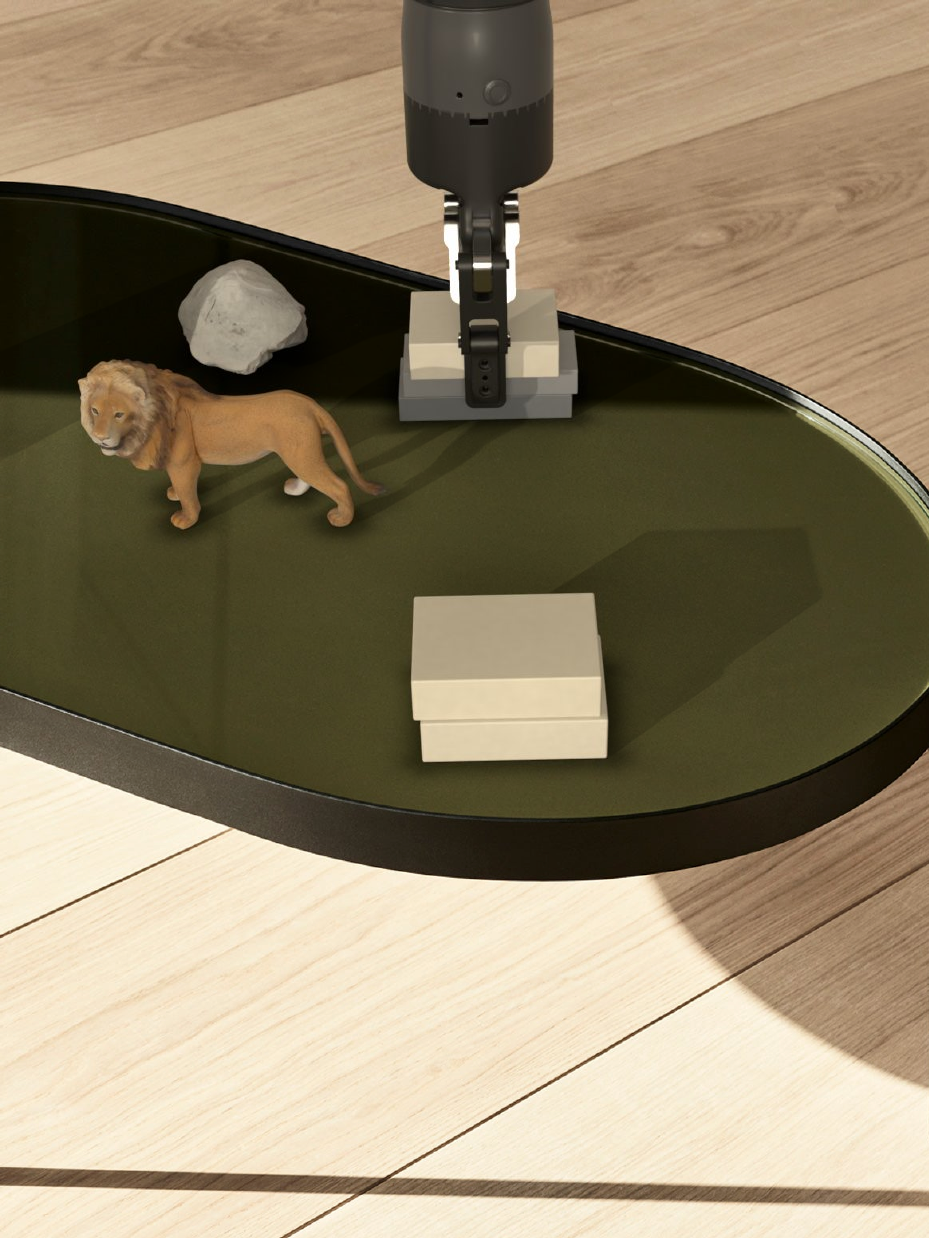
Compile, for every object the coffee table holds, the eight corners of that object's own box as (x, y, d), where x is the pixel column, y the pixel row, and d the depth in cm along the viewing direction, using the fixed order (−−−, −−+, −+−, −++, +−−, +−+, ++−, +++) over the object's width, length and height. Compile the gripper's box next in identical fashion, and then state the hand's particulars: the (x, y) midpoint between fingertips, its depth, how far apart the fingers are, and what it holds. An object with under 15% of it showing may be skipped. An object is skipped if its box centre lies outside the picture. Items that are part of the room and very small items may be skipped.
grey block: (399, 421, 101) (397, 373, 100) (401, 380, 105) (399, 333, 103) (577, 418, 101) (577, 370, 100) (573, 376, 105) (574, 329, 103)
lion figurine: (98, 551, 92) (68, 395, 86) (102, 493, 96) (74, 340, 91) (390, 526, 94) (380, 370, 88) (382, 469, 98) (372, 317, 92)
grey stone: (343, 335, 109) (337, 257, 106) (273, 398, 103) (264, 319, 100) (220, 307, 112) (210, 230, 109) (145, 367, 106) (133, 289, 103)
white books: (415, 763, 80) (410, 684, 77) (418, 672, 84) (414, 595, 82) (607, 758, 80) (609, 680, 77) (599, 668, 84) (600, 591, 82)
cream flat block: (410, 380, 99) (408, 344, 98) (412, 326, 104) (411, 291, 102) (559, 377, 99) (559, 341, 98) (554, 323, 104) (555, 288, 102)
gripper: (406, 27, 97) (420, 314, 108) (398, 137, 86) (415, 445, 97) (548, 24, 97) (548, 311, 108) (559, 134, 86) (558, 441, 97)
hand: (485, 373), depth 102 cm, fingers closed on cream flat block, 6 cm apart
